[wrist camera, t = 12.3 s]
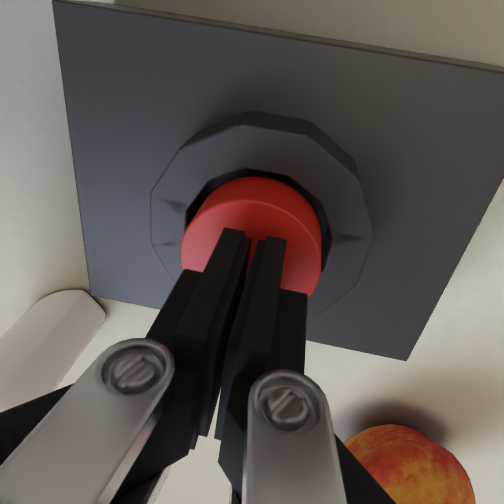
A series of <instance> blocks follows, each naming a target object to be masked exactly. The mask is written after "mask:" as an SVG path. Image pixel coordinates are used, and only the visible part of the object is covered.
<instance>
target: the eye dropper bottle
mask: <svg viewBox="0 0 504 504" xmlns="http://www.w3.org/2000/svg"><path fill="white" fill-rule="evenodd" d="M105 318H106V314H105V312H104V310H103V309H102V308H101V307H100V306H99V305H98V304H97V303H96V302H95V301H94V299H93V298H92V297H91V296H90V295H89V294H87V293H86V292H85V291H82V290H66V291H60V292H56V293H53V294H50V295H48V296H46V297H44V298H42V299H41V300H40V301H38V302H37V303H36V304H35V305H34V306H33V307H32V308H31V309H30V310H28V311H27V312H26V313H25V314H24V315H23V316H22V317H21V318H20V319H19V320H18V321H17V322H16V323H15V324H14V325H13V326H12V327H11V328H10V329H9V330H8V331H7V332H6V333H5V334H4V335H3V336H2V337H1V338H0V412H3V411H5V410H8V409H10V408H13V407H15V406H18V405H20V404H23V403H25V402H28V401H31V400H33V399H36V398H38V397H41V396H43V395H46V394H48V393H51V392H53V391H54V390H55V389H56V388H57V386H58V385H59V383H60V382H61V381H62V379H63V378H64V377H65V375H66V374H67V372H68V371H69V370H70V368H71V367H72V366H73V364H74V363H75V361H76V360H77V359H78V357H79V356H80V354H81V353H82V352H83V350H84V349H85V348H86V346H87V345H88V343H89V342H90V341H91V339H92V338H93V336H94V335H95V334H96V332H97V331H98V329H99V328H100V327H101V325H102V324H103V322H104V320H105Z"/></svg>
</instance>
